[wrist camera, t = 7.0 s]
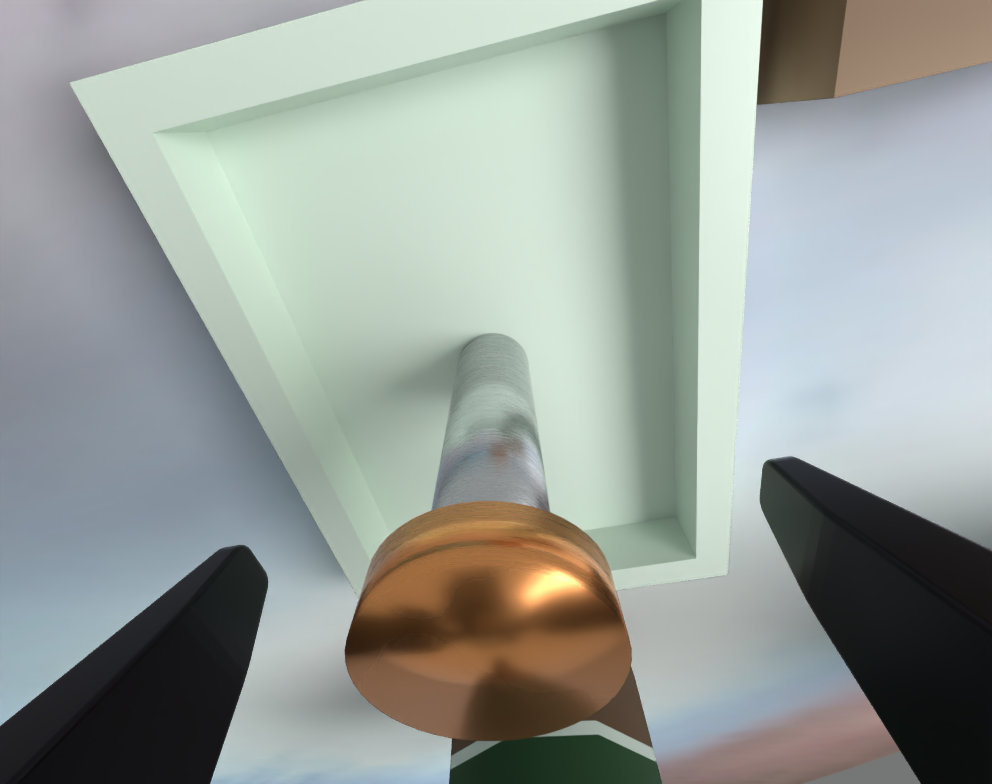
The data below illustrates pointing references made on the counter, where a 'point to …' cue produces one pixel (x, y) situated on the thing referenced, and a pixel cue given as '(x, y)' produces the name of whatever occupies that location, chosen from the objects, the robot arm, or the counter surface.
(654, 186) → the tray
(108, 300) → the counter surface
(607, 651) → the pin
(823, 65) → the block
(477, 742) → the beer bottle
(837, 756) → the counter surface
